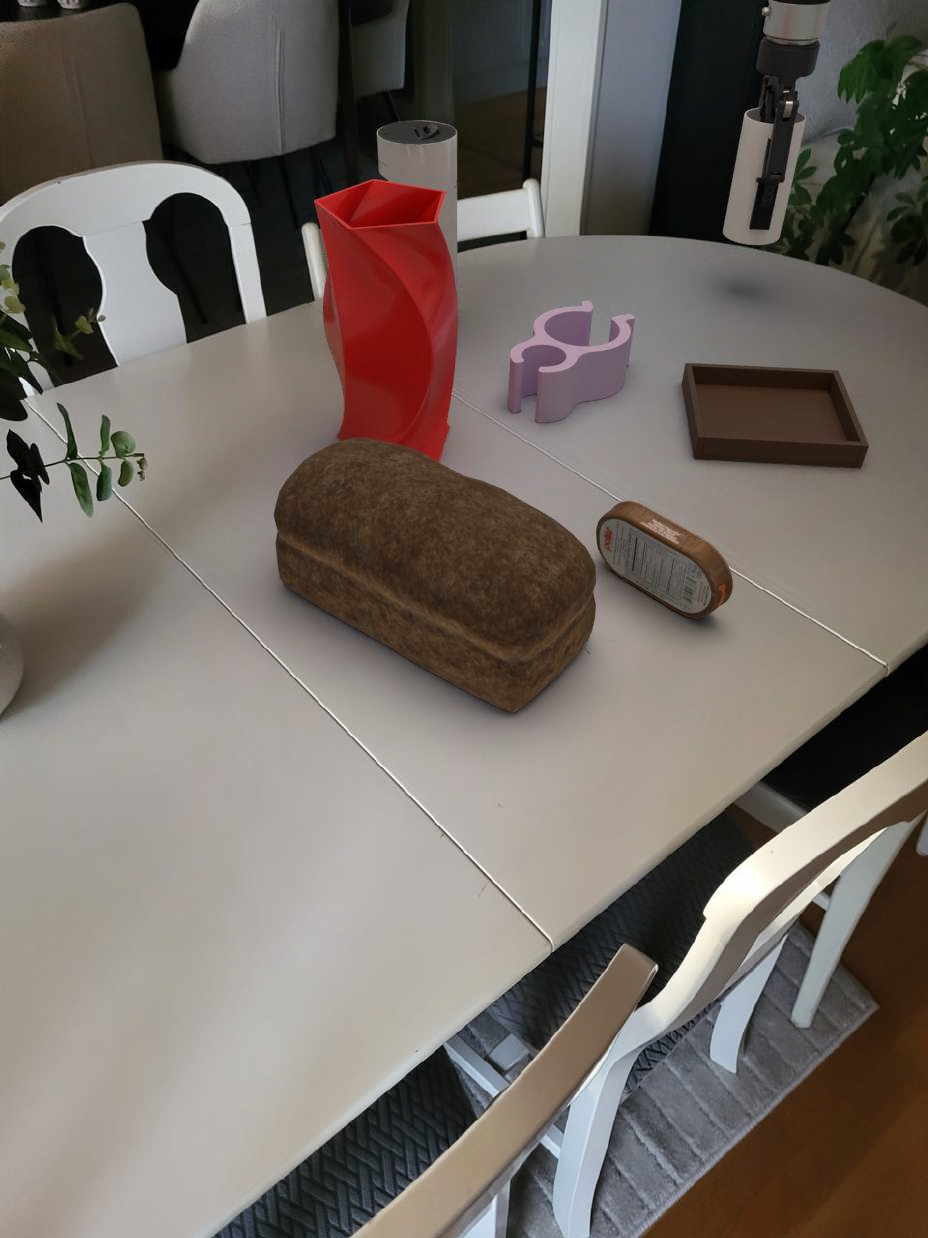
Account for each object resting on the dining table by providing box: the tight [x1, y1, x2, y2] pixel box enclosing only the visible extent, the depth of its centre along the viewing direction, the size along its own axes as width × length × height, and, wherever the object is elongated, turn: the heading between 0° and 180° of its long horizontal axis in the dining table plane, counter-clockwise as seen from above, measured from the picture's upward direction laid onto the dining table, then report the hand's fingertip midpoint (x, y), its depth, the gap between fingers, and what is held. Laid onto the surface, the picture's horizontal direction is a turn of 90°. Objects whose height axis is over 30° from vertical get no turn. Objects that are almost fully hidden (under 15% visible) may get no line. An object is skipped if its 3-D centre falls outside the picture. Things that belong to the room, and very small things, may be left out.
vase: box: [313, 178, 459, 463], centre depth 104 cm, size 15×14×28 cm
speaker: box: [376, 119, 459, 307], centre depth 128 cm, size 11×10×26 cm
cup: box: [722, 107, 807, 246], centre depth 134 cm, size 8×8×16 cm
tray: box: [681, 362, 870, 469], centre depth 117 cm, size 20×18×3 cm
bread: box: [273, 438, 597, 713], centre depth 87 cm, size 15×32×16 cm, turn 53°
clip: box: [507, 300, 636, 424], centre depth 122 cm, size 20×12×7 cm, turn 144°
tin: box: [595, 500, 734, 619], centre depth 92 cm, size 15×3×8 cm, turn 44°
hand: (754, 216), depth 137 cm, fingers closed on cup, 8 cm apart
